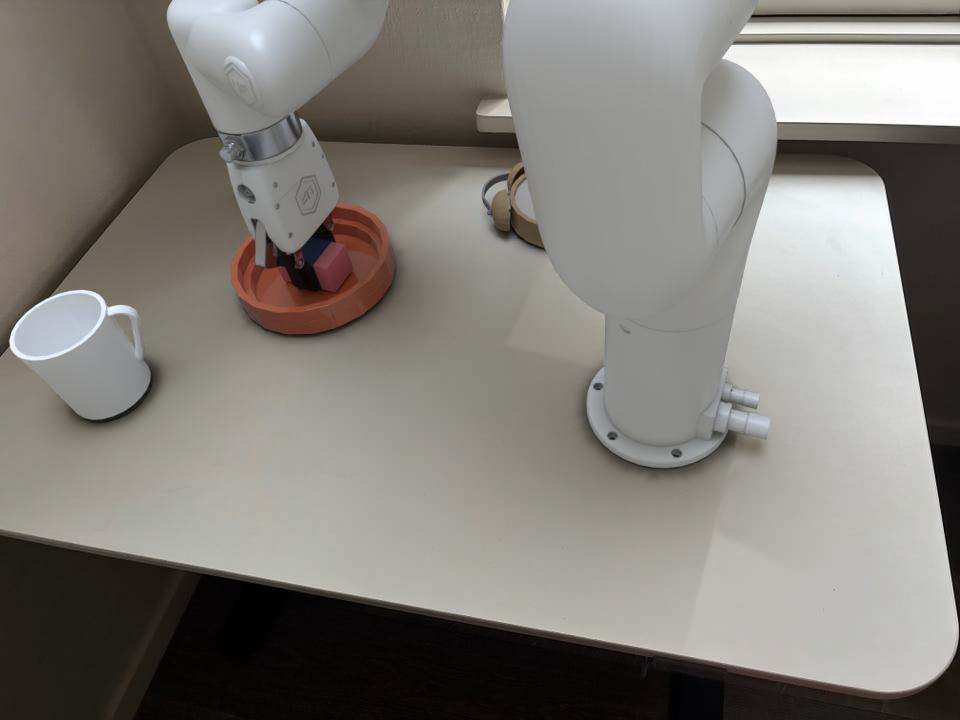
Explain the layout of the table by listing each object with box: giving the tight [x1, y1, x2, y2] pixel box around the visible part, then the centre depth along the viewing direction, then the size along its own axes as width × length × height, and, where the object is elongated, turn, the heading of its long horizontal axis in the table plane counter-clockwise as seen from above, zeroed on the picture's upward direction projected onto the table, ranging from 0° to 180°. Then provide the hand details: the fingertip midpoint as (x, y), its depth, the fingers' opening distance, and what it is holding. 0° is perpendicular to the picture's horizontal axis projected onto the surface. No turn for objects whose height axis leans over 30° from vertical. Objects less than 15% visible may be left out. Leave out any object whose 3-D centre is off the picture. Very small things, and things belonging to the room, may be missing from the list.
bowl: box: [230, 202, 397, 335], centre depth 80 cm, size 18×18×4 cm
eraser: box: [278, 237, 353, 292], centre depth 79 cm, size 7×4×4 cm, turn 67°
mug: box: [8, 289, 153, 423], centre depth 71 cm, size 11×9×10 cm
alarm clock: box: [481, 161, 545, 248], centre depth 82 cm, size 11×5×15 cm
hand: (317, 271), depth 80 cm, fingers closed on eraser, 4 cm apart
